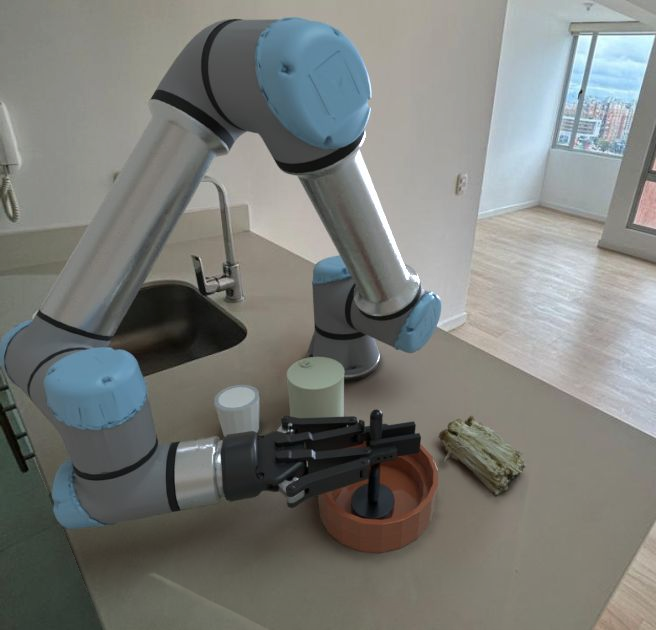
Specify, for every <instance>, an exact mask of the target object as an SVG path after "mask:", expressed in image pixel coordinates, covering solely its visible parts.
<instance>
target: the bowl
mask: <svg viewBox="0 0 656 630" xmlns="http://www.w3.org/2000/svg"><path fill="white" fill-rule="evenodd" d="M352 437H353V436H352ZM357 447H366V441H364V443H363V444H361V445H357V446H352V447H348V448H357ZM343 449H347V448H343ZM360 458H361V457H360ZM367 483H368V479H366V480H364V481H361V482H358V483H354V484H351V485H348V486H345V487H342V488H339V489H336V490H333V491H330V492H326V493H323V494H320V495H317V497H318V498H317V503H318V512H319V518H320V520H321V522H322V524H323V526H324V528H325V530H326V532H327V533H328V534H330V536H332V537H333V538H334V539H335V540H336V541H337V542H338V543H340V545H343V546H345V547H348V548H351V549H354V550H355V551H358V552H364V553H373V554H374V553H375V554H382V553H386V552H392V551H396V550H400V549H402V548H404V547H405V546H407V545H410V544H411V543H412V542H415V541H416V540H417V539H418V538H420V536H421V535H422V534H423V533H424V532H425V531H426V530H427V529H428V528H429V526H430V523H431V521H432V520H433V519H432V518H433V517H434V514H435V509H436V502H437V496H438V486H439V470H438V467H437V464H436V462H435V460H434V457H433V456H432V455H431V453H430V452H429V450H427V448H426V447H425V446H424V445H423V444H421V443H420V452H419V453H415V454H409V455H404V456H398V457H397V459H395V460H393V461H387V462H382V463H381V465H380V484H383V485H385V486H387V487H388V488H389V489H390V490H391V491H392V493H393V495H394V500H395V501H394V511H393V514H392V516H391V517H390V518H389V519H383V520H376V519H364V518H360V517H357V516H355V515H352V512H351V498H352V495H353V493H354V492H355V490H356V489H357V488H359V487H360V486H362V485H364V484H367Z"/></svg>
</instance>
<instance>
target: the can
mask: <svg viewBox="0 0 656 630" xmlns="http://www.w3.org/2000/svg"><path fill="white" fill-rule="evenodd" d="M344 373H345V371H344V368H343V366H342V365H341V364H340V363H339V362H338V361H336V360H334V359H331V358H326V357H309V358H307V357H305V358H302V359H300V360H297V361H296V362H294V363H292V364H291V365H290V366H289V368H288V369H287V371H286V381H287V391H288V404H289V416H291V417H296V418H320V417H345V409H344V408H345V405H344V404H345V403H344V402H345V395H344V394H345V381H344Z"/></svg>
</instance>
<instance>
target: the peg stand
mask: <svg viewBox="0 0 656 630" xmlns="http://www.w3.org/2000/svg"><path fill="white" fill-rule="evenodd" d="M383 424H384V414H383V412H382V410H380V409H377V408H376V409H373V410H372V411H371V412H370V413H369V426H370V431H369V447H370V441H372V440H379V439H382V426H383ZM380 465H381V463H376V464H373V465H371V470H370V471H369V477H368V483H367V484H364V485H362V486H360V487H359V488H357V489H356V490H355V492H354V493H353V495H352V498H351V512H352V515H355V516H357V517H360V518H364V519H376V520H383V519H389V518H390V517H391V516H392V514H393V511H394V501H395V500H394V495H393V493H392V491H391V490H390V489H389V488H388V487H387V486H385V485H383V484H380Z"/></svg>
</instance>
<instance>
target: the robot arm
mask: <svg viewBox="0 0 656 630" xmlns="http://www.w3.org/2000/svg"><path fill="white" fill-rule="evenodd" d="M371 85H372V84H371V80H370V75H369V73H368V69H367V66H366V64H365V62H364V60H363V57H362V55H361V54H360V52H359V50H358V49H357V47H356V46H355V45H354V43H353V42H352V41H351V40H350V38H348V37H347V35H345V34H344V33H343V32H342V31H340V30H339V29H337V28H335V27H333V25H330V24H329V23H326V22H322V21H318V20H309V19H307V18H302V17H298V16H297V17H296V16H291V17H289V16H288V17H282V18H279V19H278V18H277V19H274V18H273V19H272V18H271V19H242V18H227V19H223V20H219V21H216V22H214V23H211V24H209V25H208V26H206V27H204V28H203V29H201V30H200V31H199V32H198V33H197V34H196V35H194V36H193V37H192V38H191V39H190V41H189V42H188V43H187V44H186V45H185V46H184V48H183V49H182V50H181V51H180V53H179V54H178V55H177V57H176V58H175V59H174V60H173V62H172V64H171V65H170V66H169V68H168V70H167V71H166V73H165V74H164V76H163V77H162V79H161V80H160V82H159V84H158V85H157V87H156V88H155V90H154V92H153V94H152V95H151V97H150V99H149V100H148V102H147V105H148V109H149V111H150V114H151V119H150V120H149V122H148V124H147V126H146V127H145V129H144V131H143V132H142V134H141V136H140V137H139V139H138V141H137V143H136V144H135V146H134V148H133V149H132V151H131V152H130V155H129V156H128V158H127V159H126V161H125V163H124V164H123V166H122V168H121V170H120V171H119V173H118V175H117V176H116V178H115V180H114V181H113V183H112V185H111V187H110V188H109V191H108V192H107V194H106V195H105V196H104V198H103V201H102V202H101V204H100V205H99V207H98V208H97V210H96V212H95V214H94V215H93V217H92V218H91V221H90V222H89V224H88V225H87V227H86V228H85V231H84V233H83V234H82V236H81V237H80V239H79V241H78V243H77V244H76V246H75V248H74V250H73V251H72V253H71V254H70V256H69V258H68V259H67V261H66V263H65V265H64V266H63V268H62V270H61V272H60V273H59V275H58V277H57V278H56V279H55V282H54V283H53V285H52V287H51V289H50V290H49V292H48V294H47V295H46V297H45V299H44V300H43V302H42V304H41V306H40V307H39V309H38V311H37V312H36V313H35V315H34V316H33V319H28V320H25V321H22V322H20V323H19V324H17V325H14V327H12V328H11V329H10V330H7V331H6V332H5V334H4V335H3V336H2V337H1V339H0V366H2V368H3V369H2V370H3V371H4V373H5V374H6V377H7V378H8V379H9V380H10V381H11V383H12V384H13V385H15V386H16V387H17V388H19V389H20V390H21V391H22V392H23V393H24V394H25V395H26V396H27V397H28V398H29V399H30V400H31V402H32V403H33V405H34V406H35V407H36V408H37V409H38V410H39V411H40V413H41V414H42V415H43V416H44V417H45V418H46V419H47V421H49V423H50V424H51V425H52V426H53V427H54V428H55V430H56V431H57V432H58V434H59V435H60V438H61V439H62V442H63V444H64V447H65V449H66V451H67V455H68V457H69V458H67V459H66V460H64V461H63V462H62V464H60V466H59V467H58V470H57V471H56V473H55V477H54V479H53V484H52V488H51V489H52V490H51V499H52V500H53V508H52V511H53V514H54V516H55V519H56V521H57V522H58V523H59V524H60V525H61V526H62V527H63V528H65V529H69V530H78V529H85V528H86V529H88V528H95V527H103V526H104V527H111V526H114V525H117V524H118V523H119V524H120V523H125V522H129V521H134V520H140V519H144V518H149V517H150V518H151V517H156V516H160V515H165V514H170V513H174V512H175V513H176V512H181V511H187V510H191V509H197V508H202V507H207V506H208V507H209V506H214V505H218V504H220V503H221V502H222V501H223V498H225V500H226V501H228V502H230V503H231V502H236V501H242V500H246V499H247V500H248V499H253V498H257V497H259V496H260V495H261V493H262V492H272V493H278V492H280V493H281V495H282V496H283V497H284V498H285V499H286V506H287V507H288V508H290V509H293V508H297V506H299V505H301V504H302V503H304V502H305V501H307V500H308V499H310V498H313V497H318V495H320V494H323V493H326V492H330V491H333V490H336V489H339V488H342V487H345V486H348V485H351V484H354V483H358V482H361V481H364V480H366V479H368V477H369V471H370V470H371V465H373V464H376V463H382V462H387V461H393V460H395V459H397V457H398V456H404V455H409V454H415V453H419V452H420V444H421V441H422V435H421V433H420V432H418V433H416V427H417V425H416V423H415V421H414V420H413V421H407V422H400V423H394V424H393V423H392V424H388V423H383V426H382V439H379V440H372V441H370V447H369V431H370V425H366V422H365V420H363V419H358V417H356V416H354V415H350V416H344V417H320V418H296V417H291V416H290V415H283V416H282V417H281V419H280V422H281V424H280V426H279V427H278V429H276V430H274V431H271V432H268V433H266V434H263V435H259V434H258V432H257V433H256V432H255V431H249V432H241V433H234V434H227V435H226V437H224V436H223V439H221V438H220V437H219V436H217V435H212V436H211V435H210V436H205V437H199V438H191V439H185V440H180V441H172V442H171V441H170V442H164V443H159V438H158V433H157V431H156V428H155V426H156V425H155V422H154V418H153V417H154V416H153V413H152V409H151V405H150V400H149V395H148V386H147V381H146V379H145V376H143V373H142V371H141V369H140V365H139V362H138V360H137V359H136V358H135V356H134V355H133V354H132V353H131V352H128V351H127V350H125V349H121V348H120V349H114V348H113V347H109V345H110V343H111V340H112V339H113V337H114V336H115V334H116V332H117V331H118V329H119V327H120V325H121V323H122V322H123V320H124V318H125V316H126V315H127V313H128V311H129V310H130V308H131V306H132V304H133V302H134V301H135V299H136V297H137V295H138V294H139V292H140V290H141V288H142V287H143V284H144V283H145V281H146V279H147V278H148V276H149V274H151V273H150V272H151V271H152V269H153V267H154V265H155V264H156V262H157V260H158V259H159V257H160V255H161V253H162V252H163V249H164V248H165V247H166V244H168V243H167V242H168V241H169V239H170V237H171V236H172V234H173V232H175V231H174V230H175V229H176V227H177V226H178V223H179V222H180V220H181V219H182V217H183V215H184V213H185V211H186V210H187V208H188V206H189V205H190V203H191V201H192V199H193V197H194V196H195V194H196V192H197V190H198V189H199V187H200V186H201V183H202V182H203V180H204V178H205V176H206V174H207V173H208V171H209V169H210V167H211V166H212V164H213V162H214V160H215V159H216V158H217V157H222V156H227V155H228V154H229V153H230V150H231V149H232V148H233V146H234V144H235V143H236V141H237V140H238V139H239V138H240V137H241V136H242V135H244V134H246V133H247V132H249V133H253V134H257V135H259V136H260V138H261V140H262V141H263V143H264V145H265V146H266V148H267V150H268V152H269V153H270V155H271V157H272V159H273V160H274V162H275V164H276V165H277V167H278V168H279V170H280V171H281V172H283V173H284V174H287V175H291V176H296V177H297V178H298V180H299V182H300V184H301V185H302V188H303V189H304V191H305V193H306V195H307V197H308V198H309V201H310V202H311V205H312V206H313V208H314V210H315V212H316V214H317V215H318V217H319V219H320V221H321V223H322V225H323V226H324V229H325V230H326V232H327V234H328V236H329V238H330V240H331V241H332V243H333V245H334V247H335V249H336V252H338V254H339V255H332V256H328V257H325V258H323V259H321V260H319V261H318V262H317V263H315V265H314V267H313V269H312V281H311V285H312V303H313V305H312V306H313V322H314V330H313V333H312V336H311V339H310V342H309V345H308V349H307V352H306V358H309V357H326V358H331V359H334V360H336V361H338V362H339V363H340V364H341V365H342V366H343V368H344V371H345V373H344V382H351V381H352V382H353V381H358V380H361V379H363V378H367V377H368V376H370V375H371V374H373V373H374V372H375V371H376V370H377V369H378V367H379V364H380V351H379V347H378V344H377V341H379V342H381V343H383V344H386V345H388V346H389V347H391V348H394V350H395V351H401V352H404V353H407V354H413V353H416V352H417V351H418V352H419V351H420V350H421V349H422V348H423V347H425V345H426V344H427V343H428V342H429V340H430V339H431V338H432V336H433V334H434V333H435V331H436V329H437V326H438V324H439V321H440V318H441V314H442V307H443V306H442V304H443V303H442V299H441V298H440V296H439V295H438V294H436V293H434V292H433V291H432V290H429V291H428V290H426V289H424V287H423V285H422V283H421V281H420V280H421V279H420V278H419V276H418V273H417V272H416V270H415V269H414V268H413V267H412V266H410V265H409V264H406V263H404V261H403V258H402V256H401V253H400V250H399V248H398V245H397V243H396V240H395V238H394V235H393V233H392V232H393V231H392V230H391V226H390V225H389V222H388V220H387V217H386V214H385V212H384V209H383V206H382V204H381V201H380V198H379V196H378V193H377V191H376V188H375V186H374V183H373V180H372V177H371V175H370V172H369V170H368V167H367V165H366V162H365V160H364V157H363V154H362V152H361V147H362V145H363V143H364V141H365V138H366V135H367V134H366V126H367V124H368V122H369V119H370V115H371V110H372V109H371V106H369V104H368V103H369V102H368V101H369V100H371V99H372V86H371ZM352 436H353V437H352ZM364 441H366V447H357V448H348V447H352V446H357V445H361V444H363V443H364ZM343 448H347V449H343ZM360 457H361V458H360Z"/></svg>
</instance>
